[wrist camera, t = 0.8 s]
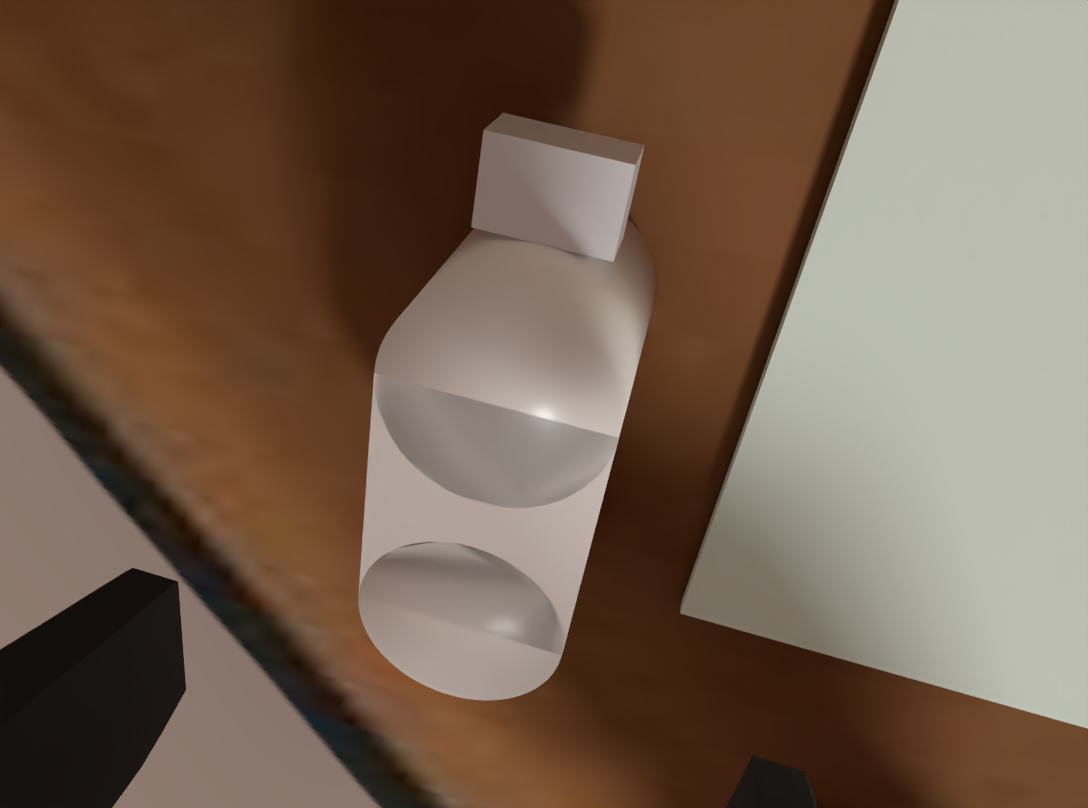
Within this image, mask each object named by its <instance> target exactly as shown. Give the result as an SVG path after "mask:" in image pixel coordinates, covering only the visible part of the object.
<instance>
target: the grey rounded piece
mask: <svg viewBox="0 0 1088 808" xmlns="http://www.w3.org/2000/svg"><path fill="white" fill-rule="evenodd" d="M643 150H644V145H641V144H637V143H633V142H628V141H624V140H620V139H615V138H611V137H607V136H602V135H598V134H594V133H589V132H585V131H580V130H576V129H572V128H567V127H563V126H559V125H554V124H550V123H546V122H541V121H537V120H533V119H528V118H524V117H520V116H515V115H511V114H507V113H502V114H501V115H500V116H499V117H498V118H497V119H495V120H494V121H493V122H492V123H491V124H490V125H489V126H487V127H486V128H485V129H484V130H483V138H482V146H481V154H480V162H479V170H478V178H477V185H476V193H475V201H474V209H473V217H472V225H471V227H472V228H474V229H473V230H472V231H471V232H470V234H469V235H468V236H467V237H466V238H465V239H464V241H463V242H462V243H461V244H460V245H459V247H458V248H457V249H456V250H455V251H454V252H453V254H452V255H451V256H450V257H449V258H448V259H447V261H446V262H445V263H444V264H443V265H442V267H441V268H440V269H439V270H438V271H437V272H436V274H435V275H434V276H433V277H432V278H431V280H430V281H429V282H428V283H427V284H426V285H425V287H424V288H423V289H422V290H421V291H420V293H419V294H418V295H417V296H416V297H415V298H414V300H413V301H412V302H411V303H410V304H409V306H408V307H407V308H406V309H405V310H404V311H403V313H402V314H401V315H400V316H399V317H398V319H397V320H396V321H395V322H394V324H393V325H392V326H391V328H390V329H389V331H388V332H387V333H386V335H385V337H384V339H383V341H382V343H381V345H380V348H379V351H378V355H377V358H376V363H375V370H374V381H373V395H372V410H371V424H370V438H369V453H368V467H367V481H366V496H365V510H364V525H363V539H362V553H361V568H360V582H359V596H358V597H359V611H360V616H361V619H362V622H363V625H364V628H365V630H366V632H367V634H368V636H369V637H370V639H371V640H372V642H373V643H374V645H375V646H376V647H377V649H378V650H379V651H380V652H381V653H382V655H383V656H384V657H385V658H386V659H387V660H388V661H389V662H390V663H392V664H393V665H394V666H395V667H396V668H398V669H399V670H400V671H401V672H403V673H404V674H406V675H407V676H409V677H410V678H412V679H414V680H415V681H417V682H419V683H421V684H423V685H425V686H427V687H429V688H432V689H434V690H436V691H439V692H442V693H445V694H448V695H452V696H456V697H460V698H466V699H472V700H502V699H509V698H513V697H517V696H520V695H523V694H525V693H528V692H530V691H532V690H534V689H536V688H537V687H539V686H540V685H542V684H543V683H544V682H545V681H547V680H548V679H549V677H550V676H551V675H552V674H553V673H554V671H555V670H556V668H557V666H558V665H559V662H560V659H561V657H562V653H563V650H564V646H565V642H566V638H567V634H568V631H569V627H570V623H571V619H572V615H573V611H574V608H575V604H576V600H577V596H578V592H579V589H580V585H581V581H582V577H583V573H584V569H585V566H586V562H587V558H588V554H589V550H590V547H591V543H592V539H593V535H594V531H595V527H596V524H597V520H598V516H599V512H600V508H601V505H602V501H603V497H604V493H605V489H606V486H607V482H608V478H609V474H610V470H611V466H612V463H613V459H614V455H615V451H616V447H617V444H618V440H619V436H620V432H621V428H622V424H623V421H624V417H625V413H626V409H627V405H628V401H629V398H630V394H631V390H632V386H633V382H634V378H635V374H636V371H637V367H638V363H639V359H640V355H641V351H642V348H643V344H644V340H645V336H646V332H647V328H648V325H649V321H650V317H651V313H652V309H653V305H654V300H655V294H656V277H655V269H654V264H653V260H652V257H651V254H650V252H649V249H648V246H647V244H646V243H645V241H644V239H643V237H642V235H641V234H640V232H639V231H638V230H637V228H636V227H635V226H634V224H633V223H632V222H631V221H630V220H629V219H628V215H629V211H630V206H631V202H632V198H633V193H634V189H635V184H636V180H637V176H638V171H639V167H640V163H641V158H642V154H643Z"/></svg>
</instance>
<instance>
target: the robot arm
mask: <svg viewBox="0 0 1088 808" xmlns="http://www.w3.org/2000/svg"><path fill="white" fill-rule="evenodd" d="M185 690H186V684H185V671H184V658H183V643H182V629H181V616H180V602H179V589H178V582H177V581H174V580H171V579H168V578H164V577H161V576H158V575H154V574H151V573H148V572H145V571H141V570H138V569H134V568H132V569H130V570H128V571H126V572H124V573H123V574H121V575H120V576H118V577H116V578H115V579H113V580H111V581H110V582H108V583H106V584H105V585H103V586H102V587H100V588H98V589H97V590H95V591H94V592H92V593H90V594H89V595H87V596H86V597H84V598H82V599H81V600H79V601H78V602H76V603H74V604H73V605H71V606H70V607H68V608H66V609H65V610H63V611H62V612H60V613H58V614H57V615H55V616H54V617H52V618H51V619H49V620H47V621H46V622H44V623H42V624H41V625H40V626H38V627H36V628H35V629H33V630H31V631H30V632H28V633H26V634H25V635H23V636H21V637H20V638H18V639H17V640H15V641H14V642H12V643H10V644H9V645H7V646H5V647H4V648H2V649H1V650H0V808H112V807H113V806H114V804H115V803H116V802H117V800H118V799H119V797H120V796H121V795H122V793H123V792H124V791H125V789H126V788H127V786H128V785H129V784H130V782H131V781H132V779H133V778H134V777H135V775H136V774H137V772H138V771H139V770H140V768H141V767H142V765H143V764H144V762H145V760H146V759H147V757H148V755H149V753H150V752H151V750H152V748H153V747H154V745H155V743H156V742H157V740H158V738H159V736H160V735H161V733H162V732H163V730H164V728H165V726H166V724H167V723H168V721H169V719H170V717H171V716H172V714H173V712H174V710H175V708H176V707H177V705H178V703H179V701H180V700H181V697H182V696H183V694H184V692H185ZM727 808H818V806H817V802H816V799H815V795H814V792H813V788H812V785H811V781H810V779H809V778H808V776H807V775H806V773H805V772H804V771H800V770H797V769H794V768H790V767H787V766H784V765H781V764H777V763H774V762H771V761H767V760H764V759H761V758H757V757H754V756H752V758H751V760H750V762H749V764H748V766H747V768H746V770H745V772H744V774H743V776H742V778H741V780H740V782H739V784H738V786H737V788H736V790H735V792H734V794H733V796H732V798H731V800H730V802H729V804H728V806H727Z"/></svg>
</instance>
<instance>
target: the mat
mask: <svg viewBox="0 0 1088 808" xmlns="http://www.w3.org/2000/svg"><path fill="white" fill-rule="evenodd" d="M680 614H684V615H687V616H691V617H694V618H698V619H701V620H705V621H709V622H712V623H716V624H719V625H723V626H726V627H730V628H733V629H737V630H740V631H744V632H748V633H751V634H755V635H758V636H762V637H765V638H769V639H772V640H776V641H780V642H783V643H787V644H790V645H794V646H797V647H801V648H804V649H808V650H811V651H815V652H819V653H822V654H826V655H829V656H833V657H836V658H840V659H843V660H847V661H850V662H854V663H858V664H861V665H865V666H868V667H872V668H875V669H879V670H882V671H886V672H889V673H893V674H897V675H900V676H904V677H907V678H911V679H914V680H918V681H921V682H925V683H928V684H932V685H936V686H939V687H943V688H946V689H950V690H953V691H957V692H960V693H964V694H967V695H971V696H975V697H978V698H982V699H985V700H989V701H992V702H996V703H999V704H1003V705H1007V706H1010V707H1014V708H1017V709H1021V710H1024V711H1028V712H1031V713H1035V714H1038V715H1042V716H1046V717H1049V718H1053V719H1056V720H1060V721H1063V722H1067V723H1070V724H1074V725H1077V726H1081V727H1085V728H1088V0H895V1H894V4H893V7H892V10H891V12H890V15H889V18H888V21H887V24H886V27H885V29H884V32H883V35H882V38H881V41H880V43H879V46H878V49H877V52H876V55H875V58H874V60H873V63H872V66H871V69H870V72H869V74H868V77H867V80H866V83H865V86H864V88H863V91H862V94H861V97H860V100H859V103H858V105H857V108H856V111H855V114H854V117H853V119H852V122H851V125H850V128H849V131H848V134H847V136H846V139H845V142H844V145H843V148H842V150H841V153H840V156H839V159H838V162H837V165H836V167H835V170H834V173H833V176H832V179H831V181H830V184H829V187H828V190H827V193H826V196H825V198H824V201H823V204H822V207H821V210H820V212H819V215H818V218H817V221H816V224H815V227H814V229H813V232H812V235H811V238H810V241H809V243H808V246H807V249H806V252H805V255H804V258H803V260H802V263H801V266H800V269H799V272H798V274H797V277H796V280H795V283H794V286H793V288H792V291H791V294H790V297H789V300H788V303H787V305H786V308H785V311H784V314H783V317H782V319H781V322H780V325H779V328H778V331H777V334H776V336H775V339H774V342H773V345H772V348H771V350H770V353H769V356H768V359H767V362H766V365H765V367H764V370H763V373H762V376H761V379H760V381H759V384H758V387H757V390H756V393H755V396H754V398H753V401H752V404H751V407H750V410H749V412H748V415H747V418H746V421H745V424H744V427H743V429H742V432H741V435H740V438H739V441H738V443H737V446H736V449H735V452H734V455H733V457H732V460H731V463H730V466H729V469H728V472H727V474H726V477H725V480H724V483H723V486H722V488H721V491H720V494H719V497H718V500H717V503H716V505H715V508H714V511H713V514H712V517H711V519H710V522H709V525H708V528H707V531H706V534H705V536H704V539H703V542H702V545H701V548H700V550H699V553H698V556H697V559H696V562H695V565H694V567H693V570H692V573H691V576H690V579H689V581H688V584H687V587H686V590H685V593H684V596H683V598H682V601H681V608H680Z"/></svg>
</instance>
